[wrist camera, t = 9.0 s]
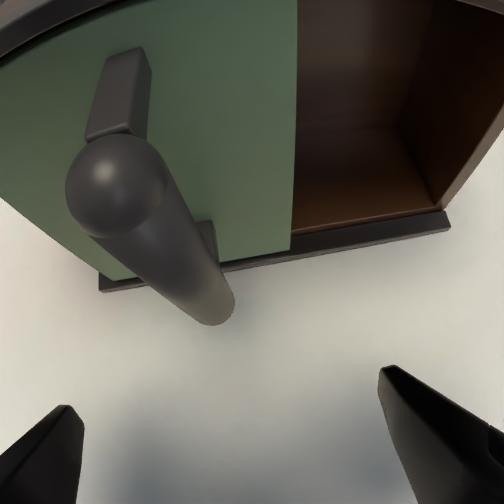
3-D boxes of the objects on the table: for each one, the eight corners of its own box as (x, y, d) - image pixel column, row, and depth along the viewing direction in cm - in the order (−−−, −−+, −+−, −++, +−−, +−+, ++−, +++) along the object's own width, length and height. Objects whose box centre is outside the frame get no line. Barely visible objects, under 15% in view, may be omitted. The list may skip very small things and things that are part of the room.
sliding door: (305, 326, 14) (400, 108, 3) (116, 353, 15) (-125, 265, 3) (287, 239, 16) (289, -31, 4) (112, 270, 16) (-67, 111, 4)
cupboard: (448, 230, 16) (590, 31, 3) (102, 293, 17) (-113, 133, 3) (399, 125, 19) (453, -65, 6) (108, 174, 20) (-7, -1, 6)
